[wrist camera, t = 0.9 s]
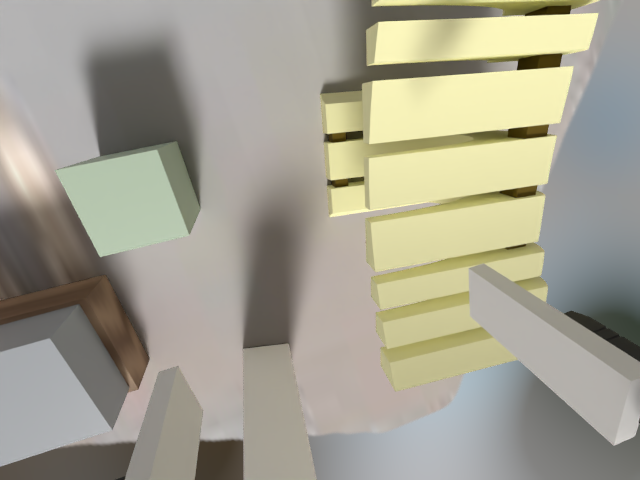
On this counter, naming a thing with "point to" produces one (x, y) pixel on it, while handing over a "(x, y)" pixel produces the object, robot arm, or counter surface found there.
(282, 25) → the counter surface
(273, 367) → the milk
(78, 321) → the tower top
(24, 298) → the tower base
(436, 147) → the slatted curved stool
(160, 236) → the sage block
